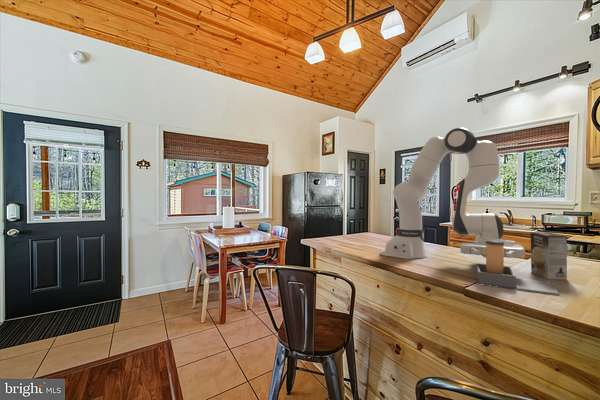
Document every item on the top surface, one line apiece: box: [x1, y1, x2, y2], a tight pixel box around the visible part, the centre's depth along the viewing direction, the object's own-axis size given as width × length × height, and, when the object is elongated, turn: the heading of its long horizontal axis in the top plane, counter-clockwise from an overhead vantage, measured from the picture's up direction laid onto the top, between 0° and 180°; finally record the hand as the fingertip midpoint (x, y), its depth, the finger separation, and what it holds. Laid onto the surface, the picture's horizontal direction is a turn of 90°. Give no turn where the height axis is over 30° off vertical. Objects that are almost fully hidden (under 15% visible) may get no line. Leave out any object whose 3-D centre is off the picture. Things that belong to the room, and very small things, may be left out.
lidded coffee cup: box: [485, 240, 505, 274], centre depth 90 cm, size 5×5×14 cm
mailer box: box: [475, 263, 560, 296], centre depth 87 cm, size 20×12×4 cm, turn 57°
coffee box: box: [530, 231, 568, 280], centre depth 94 cm, size 9×6×16 cm
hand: (492, 254), depth 92 cm, fingers open, 8 cm apart
